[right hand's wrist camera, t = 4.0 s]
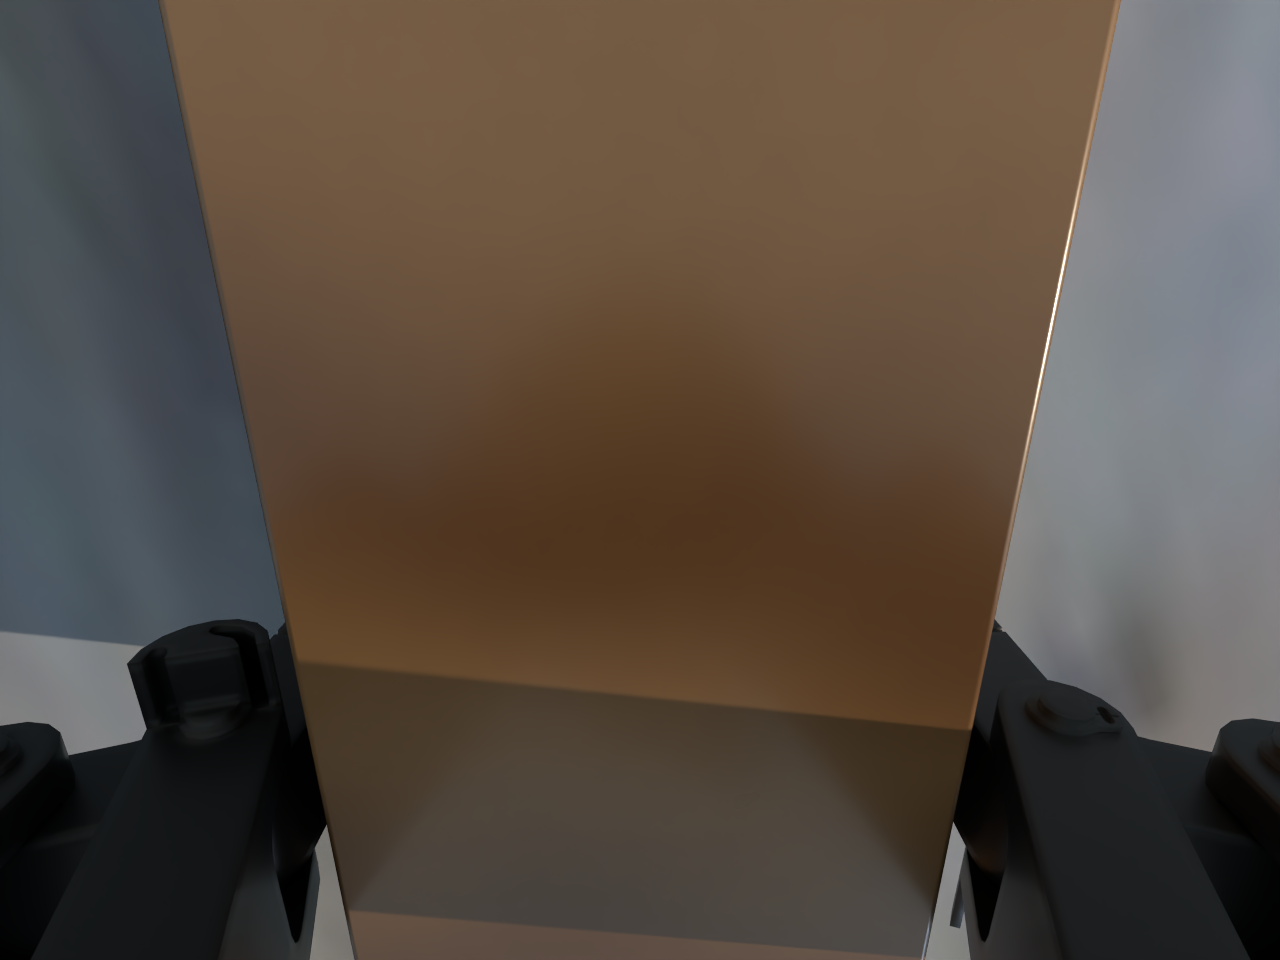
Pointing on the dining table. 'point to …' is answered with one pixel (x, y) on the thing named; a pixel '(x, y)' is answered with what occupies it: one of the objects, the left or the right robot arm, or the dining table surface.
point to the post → (639, 438)
